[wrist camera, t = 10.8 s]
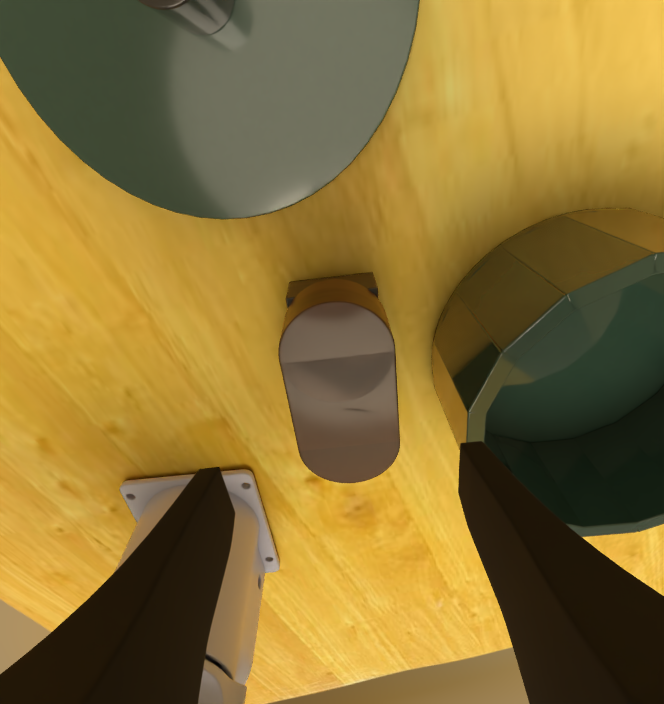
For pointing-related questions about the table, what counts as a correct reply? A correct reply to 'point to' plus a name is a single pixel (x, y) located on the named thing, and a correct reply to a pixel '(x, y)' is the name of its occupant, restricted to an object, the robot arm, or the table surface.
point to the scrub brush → (340, 377)
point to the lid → (211, 91)
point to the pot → (566, 365)
